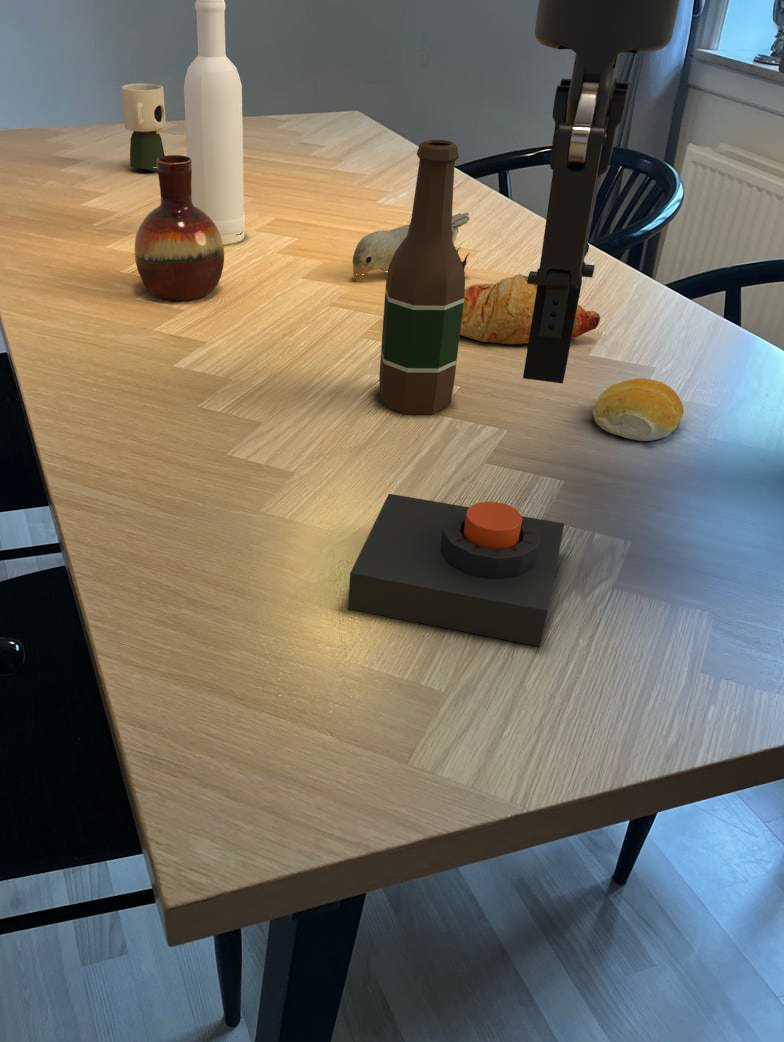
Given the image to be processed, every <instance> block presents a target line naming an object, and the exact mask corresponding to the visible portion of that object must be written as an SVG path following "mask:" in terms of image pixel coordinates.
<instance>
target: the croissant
mask: <svg viewBox="0 0 784 1042" xmlns="http://www.w3.org/2000/svg"><path fill="white" fill-rule="evenodd" d="M527 280H528V276H527V275H524V274H522V273H518V274H515V275H514V276H509V277H505V278H502V279H501V280H499V282H496V283H474V284H471V285H470V286H467V287H465V294H464V305H463V313H462V321H461V330H460V337H461V336H462V337H466V338H469V339H471V340H475V341H479V342H482V343H495V344H500V345H501V344H502V345H525V344H528V342H529V336H530V329H531V323H532V317H533V310H534V304H535V298H536V291H537V285H533V284H527ZM600 322H601V316H600V314H599V312H597V311H595V310H586V309H584V308H583V307H582V306H581V305H580V304H578V306H577V312H576V317H575V322H574V328H573V333H572V339H575V338H579V337H580V336H582V335H584V334H587V333H588V332H590V331H593V330H596V328H598V326H599V324H600Z"/></svg>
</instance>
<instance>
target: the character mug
mask: <svg viewBox="0 0 784 1042" xmlns="http://www.w3.org/2000/svg"><path fill="white" fill-rule="evenodd" d="M164 91H165V89H164V86H163V85H160V84H155V83H154V84H153V83H129V84H125V85H121V99H122V110H123V124H124V128H125V129H127V130H129V131H131V132H132V133H131V136H130V144H129V145H130V146H129V168H132V169H142V170H144V171H145V172H146V173H148V172H149V171H158V169H157V168H153V167H157V158H159V157H162V156H166V155H165V150H164V146H163V140H162V137H161V135H160V133H159V132H160V131H161V130H164V129H165V128H166V107H165V92H164Z"/></svg>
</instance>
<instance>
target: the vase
mask: <svg viewBox="0 0 784 1042" xmlns="http://www.w3.org/2000/svg"><path fill="white" fill-rule="evenodd" d="M157 169H158V170H157V175H158V180H159V181H158V183H159V184H158V185H159V191H160V204H159V205H158V206H157V207H156V208H153V210H151V211H150V212H149V213H148V214H147V215H146V216H145V217H144V219H143V220H142V222H141V223H140V225H139V227H138V229H137V231H136V234H135V240H134V260H135V265H136V268H137V271H138V274H139V277H140V279H141V282H142V283H143V285H144V287H145V288H146V289H147V290H148V292H150V293H151V294H152V295H153V296H155V297H157V298H159V299H162V300H167V301H174V302H175V301H176V302H185V301H186V302H187V301H194V300H199V299H203V298H206V297H207V296H209V295H210V294H211V293H213V291H214V290H215V289H216V288H217V286H218V285H219V282H220V281H221V278H222V274H223V270H224V263H225V247H224V246H225V245H223V241H222V237H221V234H220V232H219V230H218V228H217V226H216V224H215V223H214V222H213V220H212V219H211V218H210V217H209V216H208V215H207V214H206V213H205V212H204V211H202V210H201V209H200V208H198V207H196V206H194V205H193V202H192V191H191V178H192V160H191V158H189V157H187V155H182V154H181V155H179V154H170V155H169V154H168V155H165V156H162V157H159V158H157Z"/></svg>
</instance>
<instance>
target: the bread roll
mask: <svg viewBox="0 0 784 1042" xmlns="http://www.w3.org/2000/svg"><path fill="white" fill-rule="evenodd" d="M684 413H685V412H684V404H683V402H682V400H681V397H680V396H679V395H678V393H677V392H676V391H675V389H674V388H672V387H670V386H669V385H667V384H665V383H664V382H662V381H659V380H655V379H651V378H645V377H640V378H638V377H637V378H631V379H626V380H623V381H620V382H617V383H615V384H612V385H610V386H609V387H607V388H606V389H605V390H604V391H603V392H602V393H601V394H600V395H599V396H598V397H597V398H596V400H595V403H594V405H593V410H592V416H593V419H594V422H595V423H596V425H598V427H600V428H601V429H602V430H604V431H606V432H607V433H608V434H611V435H616V436H619V437H622V438H625V439H629V440H633V441H640V442H652V441H655V440H660V439H663V438H666V437H668V436H669V435H670V434H671V433H673V432H674V431H675V430H676V429H677V428H678V425H679V422H680V421H681V420H682V419H683V417H684Z"/></svg>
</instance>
